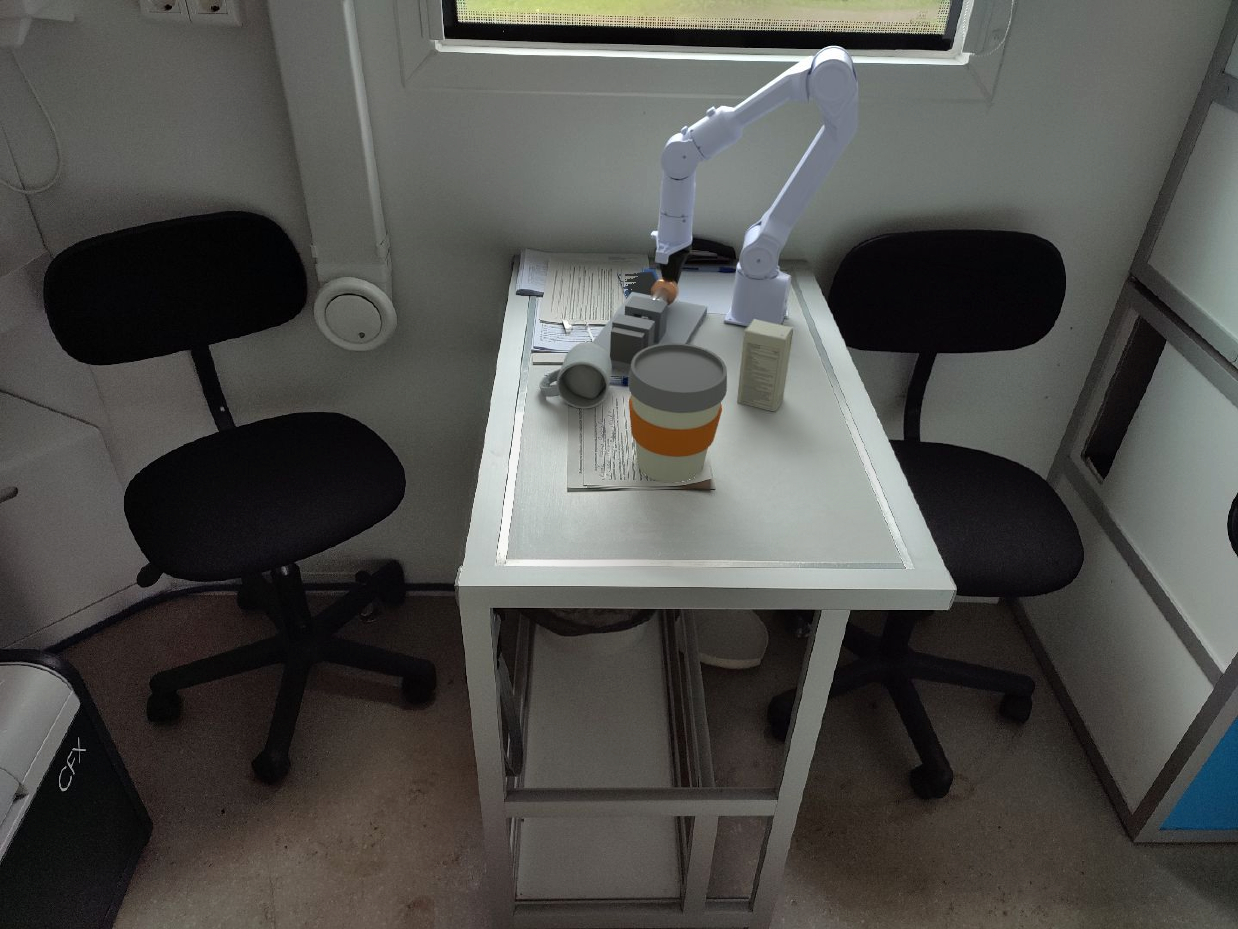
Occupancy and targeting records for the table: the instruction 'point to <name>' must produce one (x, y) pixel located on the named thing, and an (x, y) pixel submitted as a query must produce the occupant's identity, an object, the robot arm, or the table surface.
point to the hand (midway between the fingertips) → (670, 286)
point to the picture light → (569, 327)
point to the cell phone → (641, 282)
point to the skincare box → (764, 364)
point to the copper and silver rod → (663, 292)
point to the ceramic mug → (581, 377)
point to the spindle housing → (647, 327)
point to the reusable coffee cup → (675, 408)
